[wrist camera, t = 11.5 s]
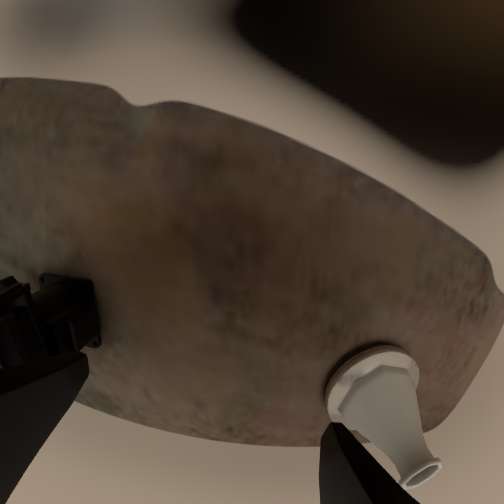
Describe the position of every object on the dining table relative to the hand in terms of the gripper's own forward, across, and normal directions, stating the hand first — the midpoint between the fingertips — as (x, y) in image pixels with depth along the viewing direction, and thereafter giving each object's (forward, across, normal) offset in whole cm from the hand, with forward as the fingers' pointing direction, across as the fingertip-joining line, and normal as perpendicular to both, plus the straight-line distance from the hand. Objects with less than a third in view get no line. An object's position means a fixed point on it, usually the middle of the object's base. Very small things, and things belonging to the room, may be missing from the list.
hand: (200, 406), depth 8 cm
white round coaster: (+14, -13, +7) cm, 20 cm away
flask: (+11, -14, +7) cm, 19 cm away
